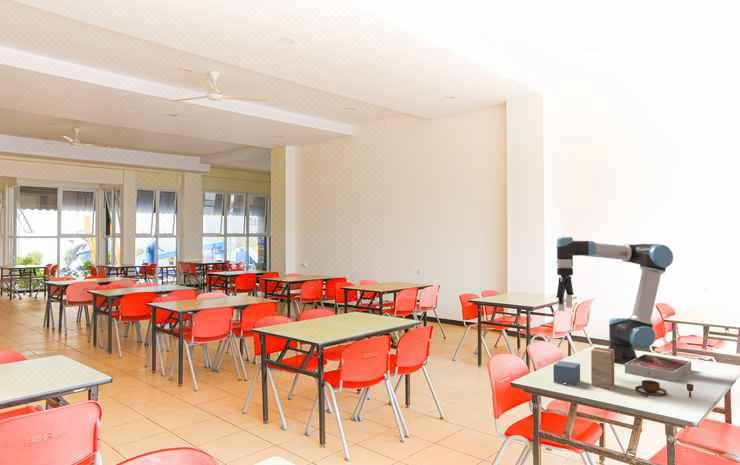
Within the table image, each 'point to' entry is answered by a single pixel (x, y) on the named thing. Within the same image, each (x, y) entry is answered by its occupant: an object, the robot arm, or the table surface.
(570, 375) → the blue cube
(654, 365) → the product packaging
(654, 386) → the place setting
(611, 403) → the table surface
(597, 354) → the box
